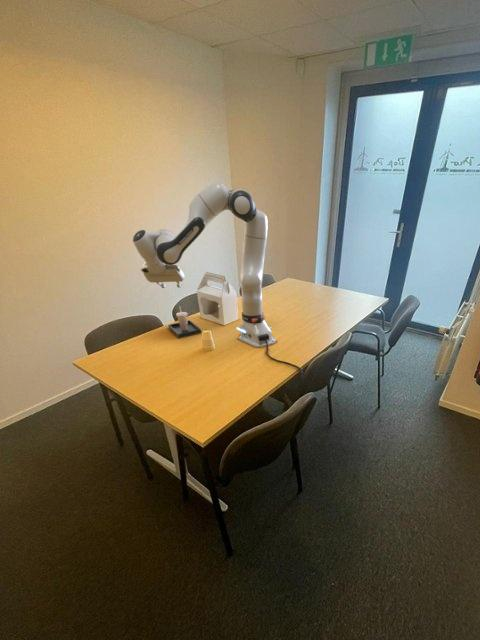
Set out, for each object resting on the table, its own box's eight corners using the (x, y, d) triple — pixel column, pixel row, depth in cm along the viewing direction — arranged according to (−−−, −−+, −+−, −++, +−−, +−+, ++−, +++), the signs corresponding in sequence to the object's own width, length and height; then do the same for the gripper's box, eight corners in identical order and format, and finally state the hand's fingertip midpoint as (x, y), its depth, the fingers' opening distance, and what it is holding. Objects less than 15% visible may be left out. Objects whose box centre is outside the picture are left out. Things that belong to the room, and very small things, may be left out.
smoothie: (185, 326, 180) (181, 303, 172) (192, 328, 177) (188, 306, 169) (176, 329, 176) (172, 306, 168) (183, 332, 173) (179, 309, 165)
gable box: (200, 317, 195) (193, 273, 179) (214, 311, 204) (210, 269, 188) (224, 325, 184) (220, 279, 169) (239, 319, 194) (236, 275, 178)
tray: (201, 332, 175) (200, 329, 174) (178, 338, 168) (177, 334, 167) (190, 323, 186) (189, 320, 184) (168, 328, 179) (167, 324, 178)
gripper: (178, 259, 144) (191, 282, 156) (142, 261, 149) (157, 283, 161) (174, 268, 141) (187, 290, 153) (137, 270, 146) (153, 291, 158)
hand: (172, 287), depth 157 cm, fingers open, 8 cm apart
